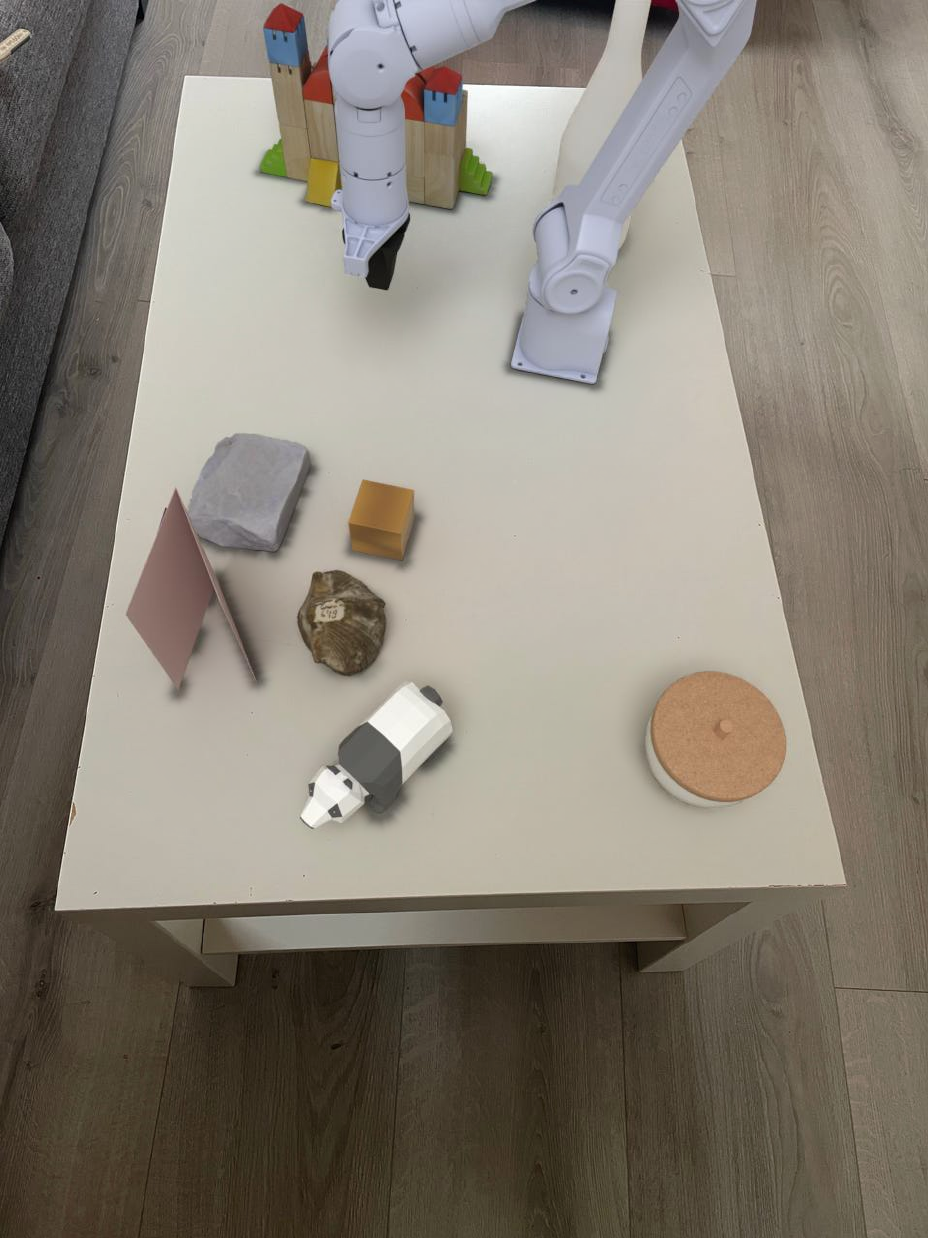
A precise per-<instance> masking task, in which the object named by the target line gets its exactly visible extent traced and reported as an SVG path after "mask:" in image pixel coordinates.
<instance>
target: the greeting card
mask: <svg viewBox="0 0 928 1238" xmlns="http://www.w3.org/2000/svg"><path fill="white" fill-rule="evenodd" d="M187 511H188V510H187V508H186V506H185V504H184V501H183V499H182V497H181V495H180V493H179V490H178V488H177V487H176V486H175V487H174V489H173V493H172V495H171V497H170V500H169V502H168V504H167V506H166V507H164V510H163V513H162V516H161V520H160V523H159V525H158V529H157V531H156V535H155V538H154V541H153V543H152V546H151V547H150V551H149V552H148V555H147V558H146V561H145V563H144V566H143V568H142V570H141V573H140V576H139V578H138V580H137V583H136V585H135V587H134V588H135V589H134V591H133V593H132V596H131V599H130V601H129V602H128V605H127V609H126V611H125V613H124V615H125V616H126V618H127V619H128V620H129V622H130V623H131V625H132V626H133V627H134V629H135V630H136V631H137V634H138V635H139V636H140V638H141V639H142V640H143V642H144V643H145V645H146V646H147V648H148V649H149V650H150V652H151V654H152V655H153V657H155V659H156V661H157V662H158V664H159V665H160V666H161V668H162V669H163V670H164V672H165V674H166V675H167V677H168V678H169V679H170V681H171V682H172V683H173V685H174V686H175V688H176V689H177V690H178V691H179V689H180V687H181V685H182V681H183V678H184V677H185V676H184V675H185V674H186V673H185V672H186V669H187V667H188V664H189V661H190V659H191V656H192V652H193V650H194V646H195V643H196V641H197V638H198V635H199V632H200V630H201V627H202V624H203V621H204V618H205V615H206V612H207V610H208V606H209V603H210V601H211V598H212V595H213V592H214V591H215V594H216V596H217V599H218V601H219V604H220V607H221V608H222V610H223V612H224V615H225V617H226V619H227V621H228V623H229V625H230V628H231V631H232V632H233V635H234V636H235V638H236V641H237V643H238V645H239V647H240V649H241V652H242V654H243V656H244V658H245V661H247V664H248V667H249V669H250V671H251V673H252V675H253V677H254V679H255V682H256V683H257V682H258V681H257V678H256V676H255V673H254V671H253V668H252V665H251V662H250V660H249V657H248V654H247V652H246V650H245V648H244V647H245V646H244V645H243V643H242V640H241V637H240V634H239V632H238V629H237V626H236V624H235V621H234V619H233V616H232V614H231V611H230V609H229V606H228V604H227V601H226V599H225V595H224V594H223V591H222V589H221V585H220V583H219V581H218V578H217V576H216V573H215V572H214V569H213V567H212V565H211V562H210V560H209V558H208V555H207V554H206V550H205V549H204V546H203V544H202V543H201V540H200V538H199V535H198V533H197V532H196V531H195V529H194V526H193V524H192V522H191V520H190V517H189V515H188V513H187Z"/></svg>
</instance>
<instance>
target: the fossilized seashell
mask: <svg viewBox="0 0 928 1238" xmlns="http://www.w3.org/2000/svg"><path fill="white" fill-rule="evenodd" d="M310 581H311V582H310V587H309V589H308V593H307V595H306V597H305V599H304V601H303V603H302V605H301V607H300V608H299V610H298V612H297V616H296V618H297V626H298V630H299V632H300V637H301V638H302V641H303V643H304V644H305V647H307V649H308V650H309V651H310V653H312V659H313V662H314V663H315V664H321V665H324V666H325V667H327V668H329V669H331V670H332V672H334V673H336V674H338V675H341V676H343V677H353V676H355V675H357V674H360V673H363V672H364V671H366V670H367V669H368V668H369V667H370V666H371V665H372V664H373V663H374V662H375V660H376V658H377V657H378V655H379V653H380V650H381V648H382V646H383V645H384V644H383V643H384V638H385V637H384V636H385V633H386V629H387V627H386V626H387V618H386V613H385V606H386V602H385V600H384V599H382V598H381V597H379V596H377V595H376V594H375V593H374V592H373V591H372V590H371V589H370V588H369V587H368V585H366V584H365V583H364V582H363V581H362V580H360V579H358V578H357V577H355V576H352V575H351V574H350V573H348V572H346V571H343V570H339V569H333V570H328V571H324V572H321V571H315V572H313V573H312V575H311V580H310Z"/></svg>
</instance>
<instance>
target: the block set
mask: <svg viewBox="0 0 928 1238" xmlns="http://www.w3.org/2000/svg"><path fill="white" fill-rule="evenodd" d="M262 30H263V36H264V42H265V48H266V55H267V60H268V67H269V73H270V79H271V85H272V90H273V91H272V92H273V97H274V104H275V111H276V116H277V121H278V128H279V134H280V135H279V136H280V138H279V139H278V142H277V143H274V144H273V146H272V148H269V149H267V150H266V152H265V154H264V156H263V159H262V161H261V163H260V165H259V171H260V172H261V173H263V174H268V175H272V176H279V177H284V178H288V179H291V180H297V181H302V182H307V186H306V193H305V194H306V195H305V202H307V203H310V204H314V205H320V206H324V207H329V208H332V207H331V199H332V197H333V194H334V192H335V191H336V190H342V182H341V171H340V161H339V152H338V141H337V131H336V120H335V110H334V109H335V102H336V99H335V96H334V87H333V85H332V82H331V79H330V74H329V68H328V42H329V35H328V34H327V37H326V45H325V47H324V49H323V50H322V52H321V54H320V56H319V58H318V60H317V61H314V62H313V63H312V60H311V57H310V50H309V44H308V37H307V29H306V21H305V16H304V13H303V12H301V11H299V10H296V9H294V8H292V7H290V6H289V5H287V4H284V3H279V4H277V5H275V6H274V7H273V8H272V10H271V12H270V14H269V15H268V16H267V18H266V20H265V22H264V24H263V29H262ZM463 87H464V77H463V75H462V74H461V73H459V72H458V71H456V70H454V69H452V68H450V67H448V66H445V65H443V66H440V67H437V68H436V67H435V65H434V66H431V67H429V68H427V69H425V70H423V71H421V72H418V73H416V74H415V77H413V78H411V79H409V80H408V81H407V83H406V84H405V87H404V89H403V92H402V93H401V98H402V100H403V103H404V108H405V152H406V188H407V195H408V201H409V203H415V204H420V205H427V206H432V207H438V208H443V209H448V210H453V208H454V207H455V204H456V200H457V198H458V196H459V191H461V192H466V193H471V194H475V195H484V196H487V195H488V192H489V190H490V186H491V183H492V179H493V171H489V170H487V165H486V163H481V162H480V156H478V155H474V149H473V148H471V147H467V130H468V129H467V128H468V101H469V100H468V99H469V98H468V97H469V92H468V90H467V89H464V88H463Z"/></svg>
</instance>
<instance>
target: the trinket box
mask: <svg viewBox="0 0 928 1238" xmlns="http://www.w3.org/2000/svg"><path fill="white" fill-rule="evenodd" d="M644 736H645V737H644V740H645V741H644V750H645V757H646V761H647V764H648V767H649V769H650V771H651V773H652V775H653V777H654V778H655V780H656V781H657V783H658V784H659V785H660V786H661V787H662V788H663V789H664V790H665V791H666V792H667V793H668V794H670V796H672V797H674V798H675V799H677V800H678V801H680V802H682V803H684V804H686V805H689V806H693V807H696V808H697V807H698V808H703V809H721V808H727V807H731V806H734V805H737V804H740V803H742V802H745V801H746V800H748V799H751V798H752V797H755V796H756V795H758V794H760V793H761V792H763V791H764V790H765V789H767V788H768V787H769V786H771V784H772V783H773V782H774V781H775V780H776V778H777V777H778V776H779V773H780V772H781V771H782V769H783V766H784V763H785V760H786V755H787V736H786V731H785V727H784V724H783V721H782V718H781V716H780V714H779V711H778V710H777V709H776V707H775V706H774V704H773V703H772V701H771V700H770V699H769V698H768V697H767V696H766V695H765V694H764V693H763V692H762V691H761V690H760V689H758V688H757V687H756V686H755V685H753V684H752V683H750V682H748V681H747V680H745V679H743V678H741V677H739V676H736V675H733V674H730V673H727V672H721V671H714V670H713V671H708V670H707V671H699V672H698V671H697V672H694V673H690V674H686V675H685V676H683V677H681V678H678V679H677V680H676V681H674V682H673V683H672V684H670V685H669V686H668V687H667V688H666V689H665V690H664V691H663V693H662V694H661V695H660V697H659V699H658V700H657V701H656V704H655V706H654V709H653V711H652V712H651V715H650V717H649V719H648V722H647V725H646V730H645V735H644Z"/></svg>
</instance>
